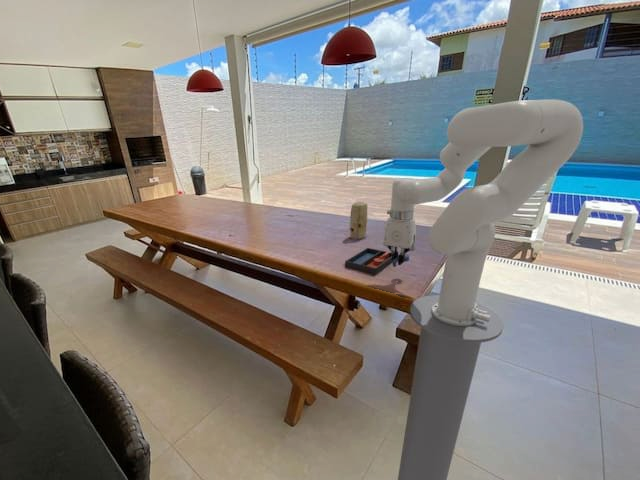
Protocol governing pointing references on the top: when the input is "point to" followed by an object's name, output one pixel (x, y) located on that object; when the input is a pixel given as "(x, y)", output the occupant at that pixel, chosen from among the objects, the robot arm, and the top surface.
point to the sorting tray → (368, 261)
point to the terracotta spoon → (381, 259)
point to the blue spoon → (397, 260)
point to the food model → (358, 220)
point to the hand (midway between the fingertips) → (397, 263)
